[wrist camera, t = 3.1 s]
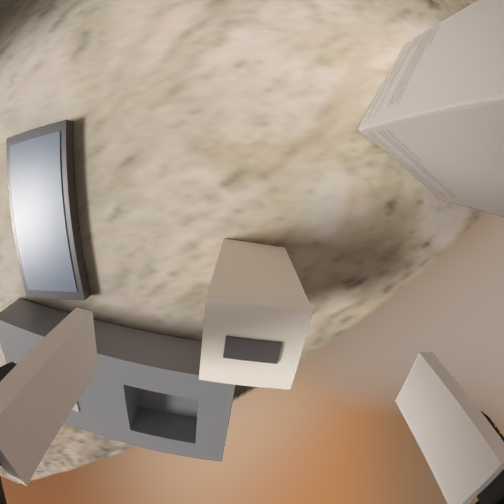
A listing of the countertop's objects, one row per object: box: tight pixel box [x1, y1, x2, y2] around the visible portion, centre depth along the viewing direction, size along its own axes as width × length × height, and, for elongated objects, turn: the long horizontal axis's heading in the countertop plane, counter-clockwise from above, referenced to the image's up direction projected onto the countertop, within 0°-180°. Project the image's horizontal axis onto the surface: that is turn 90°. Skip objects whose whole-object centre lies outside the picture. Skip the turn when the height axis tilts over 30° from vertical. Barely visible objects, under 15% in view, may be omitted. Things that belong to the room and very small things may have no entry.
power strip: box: [0, 298, 235, 461], centre depth 21 cm, size 10×20×4 cm, turn 81°
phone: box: [7, 120, 91, 300], centre depth 18 cm, size 13×6×1 cm, turn 1°
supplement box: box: [358, 0, 504, 217], centre depth 10 cm, size 9×9×15 cm
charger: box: [199, 239, 313, 389], centre depth 16 cm, size 4×4×9 cm
